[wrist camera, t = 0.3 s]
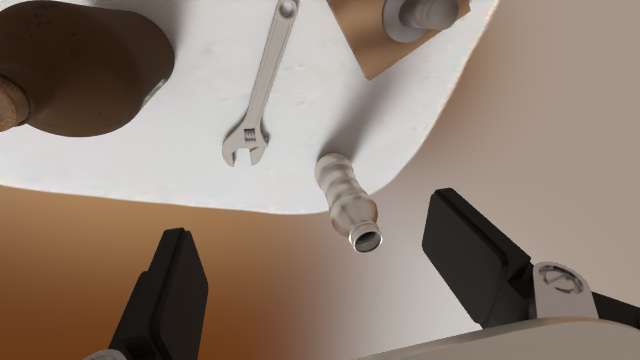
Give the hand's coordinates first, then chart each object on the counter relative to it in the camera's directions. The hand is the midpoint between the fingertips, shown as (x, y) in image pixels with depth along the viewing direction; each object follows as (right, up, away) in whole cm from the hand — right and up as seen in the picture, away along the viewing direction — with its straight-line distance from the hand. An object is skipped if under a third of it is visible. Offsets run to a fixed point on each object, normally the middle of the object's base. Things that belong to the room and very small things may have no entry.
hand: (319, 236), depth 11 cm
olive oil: (-24, +19, +26) cm, 40 cm away
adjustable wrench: (-8, +15, +32) cm, 37 cm away
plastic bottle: (+2, +5, +40) cm, 40 cm away
